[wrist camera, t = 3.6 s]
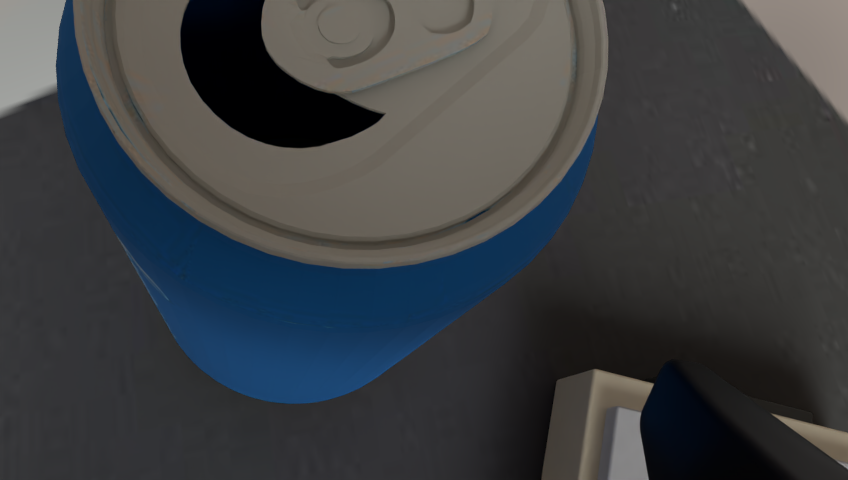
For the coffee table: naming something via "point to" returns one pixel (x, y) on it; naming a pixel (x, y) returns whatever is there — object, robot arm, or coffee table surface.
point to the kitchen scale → (632, 428)
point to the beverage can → (328, 166)
